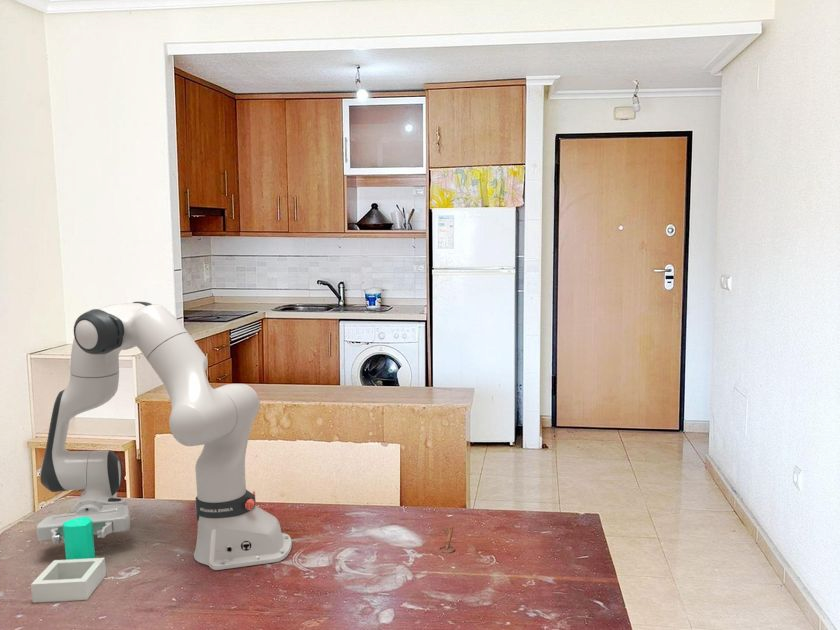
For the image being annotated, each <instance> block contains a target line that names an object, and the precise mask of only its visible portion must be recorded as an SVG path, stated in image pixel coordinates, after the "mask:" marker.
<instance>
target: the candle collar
mask: <svg viewBox="0 0 840 630" xmlns="http://www.w3.org/2000/svg"><path fill="white" fill-rule="evenodd" d="M105 559H106V557H95V558H90V559H70V560H66V559H54V560H53V561H52V562H51V563H50V564H49V565H48V566H46V568H44V570H43V571H42V572H41V573H40V574H39V575H38V576H37V578H36V579H35V580H33V582H31V583H30V589H31V590H30V591H31V601H32V603H52V602H68V601H69V602H70V601H87V600H88V599H89V598H90V597H91V595H92V594H93V592H95V590H96V589H97V588H98V587H99V585H100V584H101V582H102V581H103V580H104V579H105V577H106V576H107V570H106V569H107V567H106V560H105Z"/></svg>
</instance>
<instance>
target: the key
mask: <svg viewBox="0 0 840 630" xmlns="http://www.w3.org/2000/svg"><path fill="white" fill-rule="evenodd" d="M453 528H454V526H453V524H451V525H449V526H445V527H441V528H440V531H439V532H438V534H446V535H447V537H446V541H445V545H444V546H442V547H441V546H440V547H439V548H438V552H439V553H442V554H451V553H453V552H454V551H456V548H455V547H453V546H452V545H450V544H451V539H452V534H453ZM442 549H446V550H442ZM448 549H450V550H448Z"/></svg>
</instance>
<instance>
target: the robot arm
mask: <svg viewBox="0 0 840 630" xmlns="http://www.w3.org/2000/svg"><path fill="white" fill-rule="evenodd" d="M73 336H74V337H73V341H72V346H71V353H70V364H69V365H70V372H69V373H70V374H69V375H70V376H69V381H68V384H67V386H66V388H64V389H63V390H61V391H59V392H58V393H57V396H56V398H55V401H54V403H53V407H52V412H51V418H50V423H49V427H48V428H49V429H48V433H47V434H48V435H47V439H46V446H45V453H44V455H43V460H42V463H41V466H40V470H39V479H40V480H39V481H40V484H41V485H42V486H43V487H44V488H45V489H47V490H48V491H50V492H52V493H58V492H67V491H77V490H78V491H79V490H80V491H81V490H83V491H82V492H81V494H80V496H79V497H78V499H77V501H76V502H75V504H74V505H73V507H72V509H71V511H70V512H68V513H59V514H52V515H48V516H46V517H45V518H43V519H42V520H41V521H40V522H39V523H38V524H37V525H36V527H35V531H36V533H35V534H36V539H37V540H38V541H40V542H43V541H52V544H54V545H55V544H60V543H61V542H62V539H63V540H64V532H63V523H64V522H67V521H69V520H72V519H75V518H79V517H90V518H91V520H92V527H93V536H94V535H95V536H96V537H97V539H105V537H106V536H107V535H109V534H112V533H121V532H122V533H123V532H127V531H129V530H130V529H131V517H130V515H131V514H130V507H129V506H128V500H127V499H126V498H120V497H119V498H118V491H119V489H120V488H121V485H122V480H123V467H122V466H123V465H122V461H121V460H120V458H119V457H118V455H117V454H116V453H115V452H114V451H112V450H106V449H105V450H104V449H103V450H102V449H99V450H98V449H97V450H95V449H94V450H72V451H71V450H68V449H67V448H66V444H67V436H68V431H69V426H70V421H71V420H72V418H74V417H77V416H78V415H80V414H82V413H85V412H87V411H91V410H93V409H97V408H99V407H101V406H103V405H105V404H106V403H108V402H110V401H111V400H112V398H113V397H114V396H115V395H116V393H117V392H118V389H119V388H118V387H119V382H120V381H119V380H120V366H119V365H120V363H119V358H120V352H121V351H126V350H129V349H133V348H137V349H139V351H140V352H141V353H142V354H143V356H144V357H145V359H146V361H147V362H148V363H149V365H150V366H151V367H152V369H153V371H154V372H155V373H156V374H157V376H158V378H159V379H160V381H161V382H162V383H163V386H164V387H165V389H166V391H167V394H168V396H169V400H170V405H171V412H170V415H169V420H168V423H169V424H168V425H169V430H170V432H171V435H172V436H173V438H174V439H175V440H176V441H177V442H178V443H180V445H183V446H185V447H196V446H203V448H202V451H201V452H200V455H199V456H198V458H197V460H196V462H195V466H194V467H195V468H194V469H195V483H196V497H195V501H194V502H195V503H194V504H195V507H194V508H195V517H196V521H197V536H196V542H195V543H196V544H195V549H194V553H193V558H194V560H195V561H196V562H197V563H200V564H202V565H206V566H209V568H210V569H212V571H213V570H214V571H221V570H226V569H227V570H228V569H236V568H243V567H248V566H249V567H250V566H256V565H264V564H271V563H278V562H281V561H282V560H284V559H285V558H287V557H288V555H289V554H290V553H291V550H292V547H293V542H292V538H291V536H290V534H287V533H285V532H282V529H281V524H280V522H279V519H278V518H277V517H276V516H274V515H273V514H271V513H269V512H268V511H266V510H265V509H262V508H261V507H260V506H257V505H256V491H255V490H254V491H253V492H250V491H249V490H248V489H247V486H246V485H247V484H246V453H247V447H248V442H249V438H250V433H251V431H252V430H251V429H252V425H253V423H254V422H255V418H257V415H258V414H259V411H260V406H261V404H260V403H261V402H260V399H259V395H258V393H257V392H256V390H255V389H254V388H253V387H251V385H249V384H245V383H228V384H227V383H226V384H224V385H221V386H219V387H216V388H213V387H212V386H211V384H210V382H209V379H208V377H207V372H206V371H207V368H208V364H209V363H208V358H207V356H206V355H205V354H204V352H203V351H202V349H201V348H200V347H199V345H198V344H197V343H196V341H195V340H194V339H193V337H192V336H191V334H190V333H189V332H188V331H187V329H186V328H185V327H184V325H183V324H182V323H181V322H180V321H179V320H178V319H177V318H176V317H175V315H174V314H173V313H171V312H170V311H169V310H168V309H167V308H165V307H164V306H162V305H160V304H153V303H152V302H151V303H150V302H146V301H133V302H128V303H117V304H116V303H115V304H111V305H110V304H109V305H105V306H102V307H99V308H97V309H96V308H93V309H90V310H88V311H85V312H84V313H82V314H80V315H79V316H78V318H77V319H76V320H75V322H74V325H73Z"/></svg>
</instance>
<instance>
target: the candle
mask: <svg viewBox="0 0 840 630" xmlns="http://www.w3.org/2000/svg"><path fill="white" fill-rule="evenodd" d="M63 532H64V538H63V541H64V550H65V560H70V559H90V558H96V551H95V542H94V540H95V539H94V535H93V527H92V520H91V518H90V517H79V518H75V519H72V520H69V521H67V522H64V523H63Z"/></svg>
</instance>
